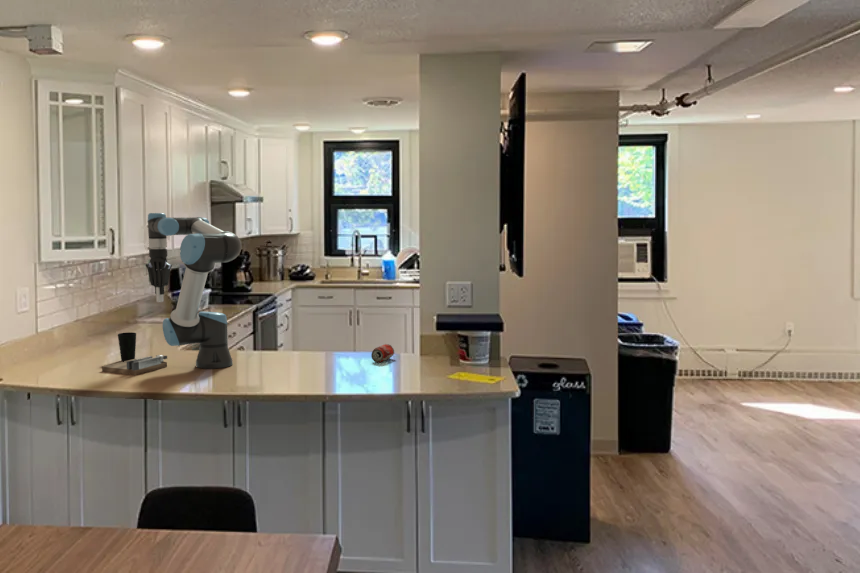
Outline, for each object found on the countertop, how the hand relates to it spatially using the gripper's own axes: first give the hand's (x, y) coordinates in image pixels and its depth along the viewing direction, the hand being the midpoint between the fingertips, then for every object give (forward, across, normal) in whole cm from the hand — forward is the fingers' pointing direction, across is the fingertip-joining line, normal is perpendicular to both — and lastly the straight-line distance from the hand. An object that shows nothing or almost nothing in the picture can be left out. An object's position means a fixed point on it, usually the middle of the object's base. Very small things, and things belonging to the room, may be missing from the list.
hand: (160, 301), depth 333 cm
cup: (+27, +15, +5) cm, 31 cm away
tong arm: (+24, -7, +20) cm, 33 cm away
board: (+26, -2, +18) cm, 32 cm away
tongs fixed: (+24, -9, +18) cm, 31 cm away
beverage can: (+27, -90, -39) cm, 101 cm away
